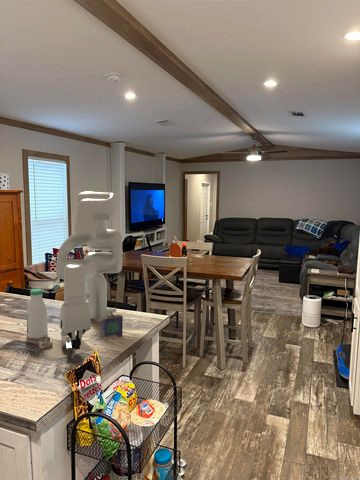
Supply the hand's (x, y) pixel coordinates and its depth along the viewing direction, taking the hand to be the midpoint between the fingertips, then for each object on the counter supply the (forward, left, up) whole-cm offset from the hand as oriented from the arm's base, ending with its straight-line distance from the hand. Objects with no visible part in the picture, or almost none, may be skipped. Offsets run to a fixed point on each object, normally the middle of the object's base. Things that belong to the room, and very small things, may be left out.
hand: (76, 348), depth 129 cm
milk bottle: (+7, -25, -4) cm, 26 cm away
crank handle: (+2, -3, -2) cm, 4 cm away
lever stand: (+2, -7, -4) cm, 8 cm away
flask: (-18, -9, -4) cm, 21 cm away
